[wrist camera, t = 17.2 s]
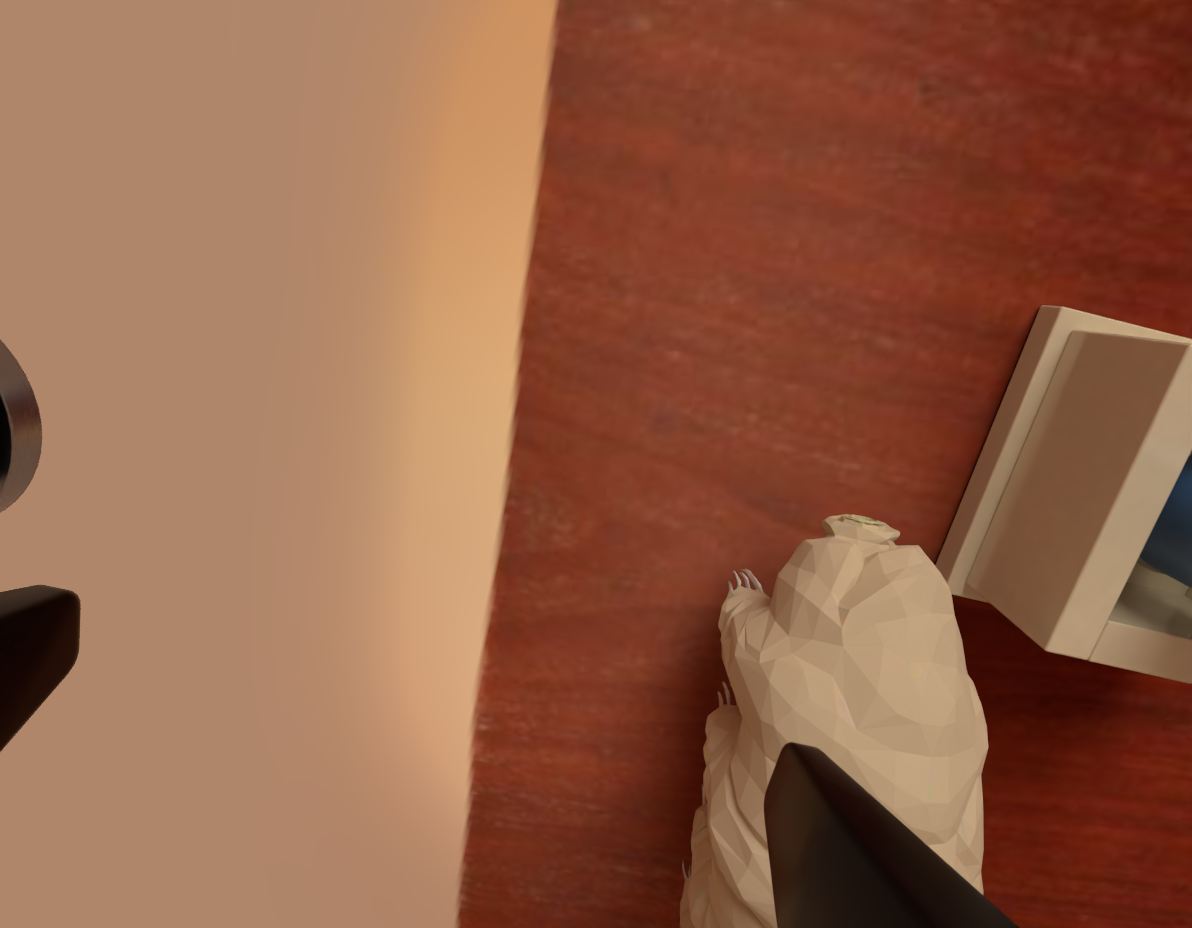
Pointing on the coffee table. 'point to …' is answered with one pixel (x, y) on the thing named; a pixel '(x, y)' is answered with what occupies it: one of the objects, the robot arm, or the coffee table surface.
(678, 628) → the coffee table surface
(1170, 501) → the cylinder
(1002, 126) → the coffee table surface
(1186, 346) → the holder
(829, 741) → the model
